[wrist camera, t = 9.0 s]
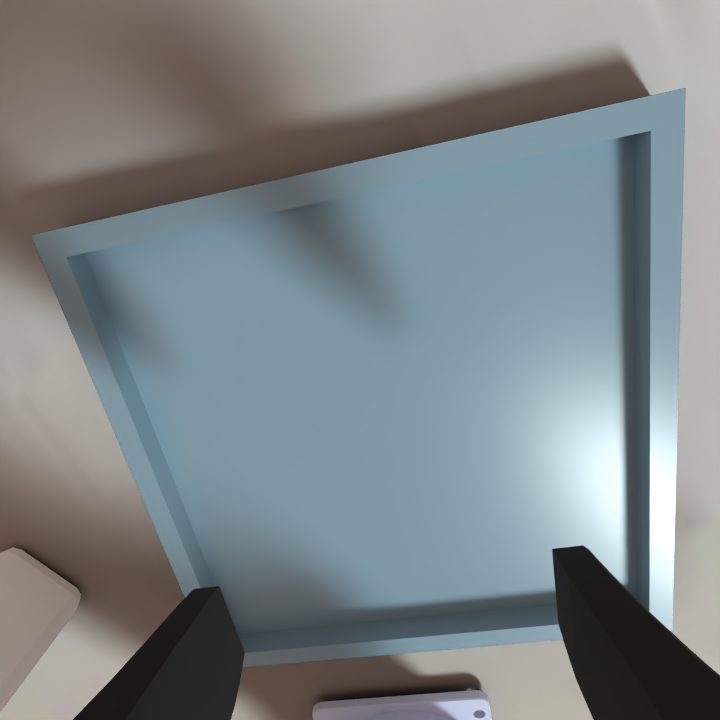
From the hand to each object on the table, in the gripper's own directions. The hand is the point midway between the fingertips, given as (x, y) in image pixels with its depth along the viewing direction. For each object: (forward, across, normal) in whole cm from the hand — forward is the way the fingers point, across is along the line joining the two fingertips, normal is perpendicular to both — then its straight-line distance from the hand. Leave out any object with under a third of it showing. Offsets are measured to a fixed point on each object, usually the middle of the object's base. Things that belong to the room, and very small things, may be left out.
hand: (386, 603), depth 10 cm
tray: (+7, 0, 0) cm, 7 cm away
